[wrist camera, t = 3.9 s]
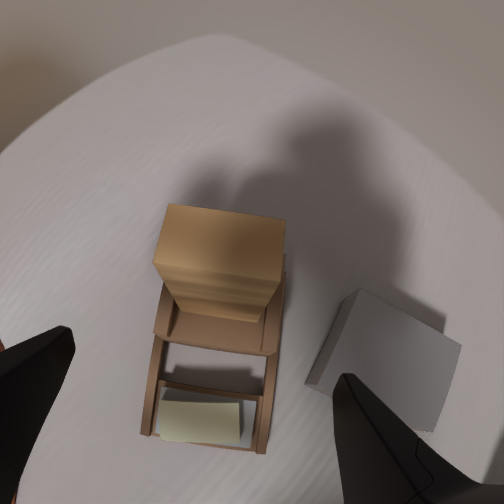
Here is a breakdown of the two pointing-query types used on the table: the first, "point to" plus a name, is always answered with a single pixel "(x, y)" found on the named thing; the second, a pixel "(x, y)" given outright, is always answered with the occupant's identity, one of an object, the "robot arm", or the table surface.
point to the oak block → (220, 261)
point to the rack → (209, 400)
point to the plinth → (389, 359)
